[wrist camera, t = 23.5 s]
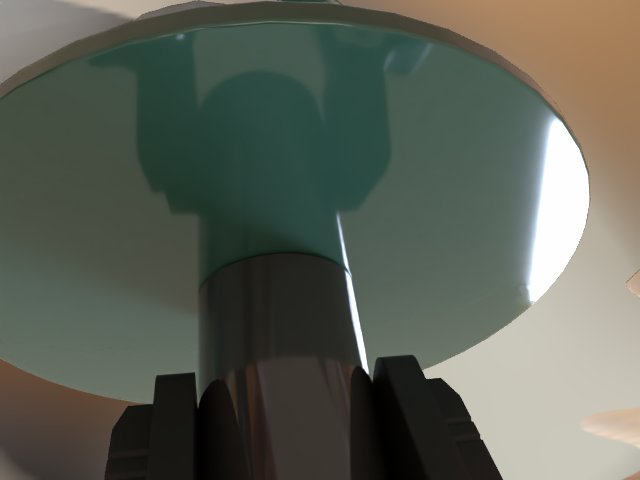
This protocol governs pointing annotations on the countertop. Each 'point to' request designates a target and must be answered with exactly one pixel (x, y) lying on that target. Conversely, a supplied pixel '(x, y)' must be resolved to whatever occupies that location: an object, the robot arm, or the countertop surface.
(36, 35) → the countertop surface
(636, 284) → the gable box
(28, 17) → the countertop surface
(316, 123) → the pot lid
